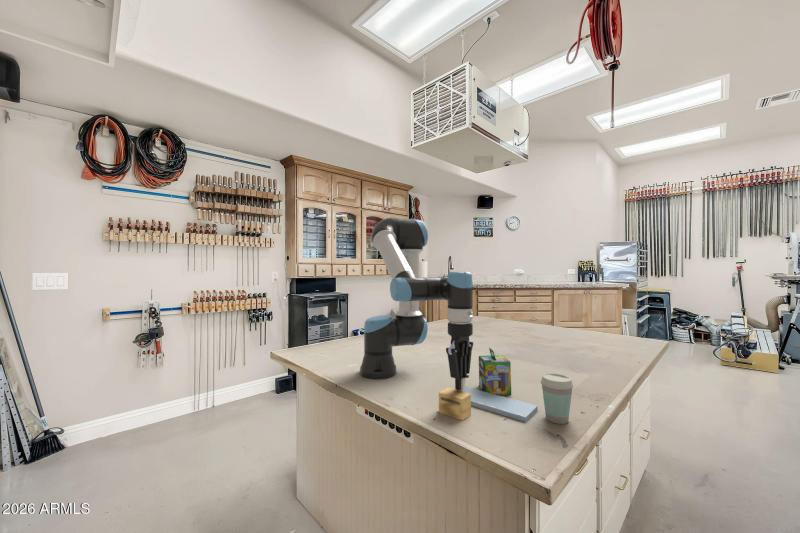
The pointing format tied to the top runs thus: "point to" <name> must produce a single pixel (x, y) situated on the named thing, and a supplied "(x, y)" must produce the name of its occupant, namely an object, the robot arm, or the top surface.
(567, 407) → the coffee cup
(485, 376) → the chalk box
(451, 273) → the robot arm
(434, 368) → the top surface
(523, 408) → the board
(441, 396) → the tan rectangular block
